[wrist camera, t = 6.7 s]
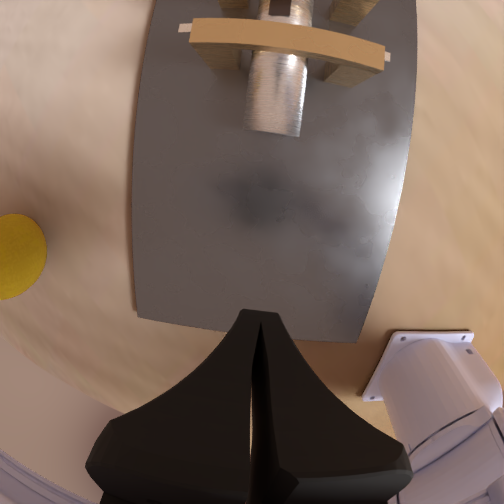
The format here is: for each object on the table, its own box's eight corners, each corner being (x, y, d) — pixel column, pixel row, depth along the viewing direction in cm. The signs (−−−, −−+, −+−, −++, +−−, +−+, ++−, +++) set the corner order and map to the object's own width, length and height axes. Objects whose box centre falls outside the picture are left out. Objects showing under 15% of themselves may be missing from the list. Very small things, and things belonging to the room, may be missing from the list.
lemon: (44, 188, 17) (-36, 220, 9) (76, 252, 19) (7, 308, 11) (11, 221, 18) (-55, 258, 10) (40, 277, 20) (-19, 327, 12)
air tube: (274, -47, 10) (264, -72, 7) (319, -45, 10) (315, -71, 7) (250, 131, 15) (234, 128, 12) (301, 137, 14) (296, 134, 12)
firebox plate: (411, 0, 11) (450, -29, 6) (354, 338, 20) (373, 390, 15) (170, -33, 11) (142, -74, 6) (140, 312, 20) (111, 359, 15)
